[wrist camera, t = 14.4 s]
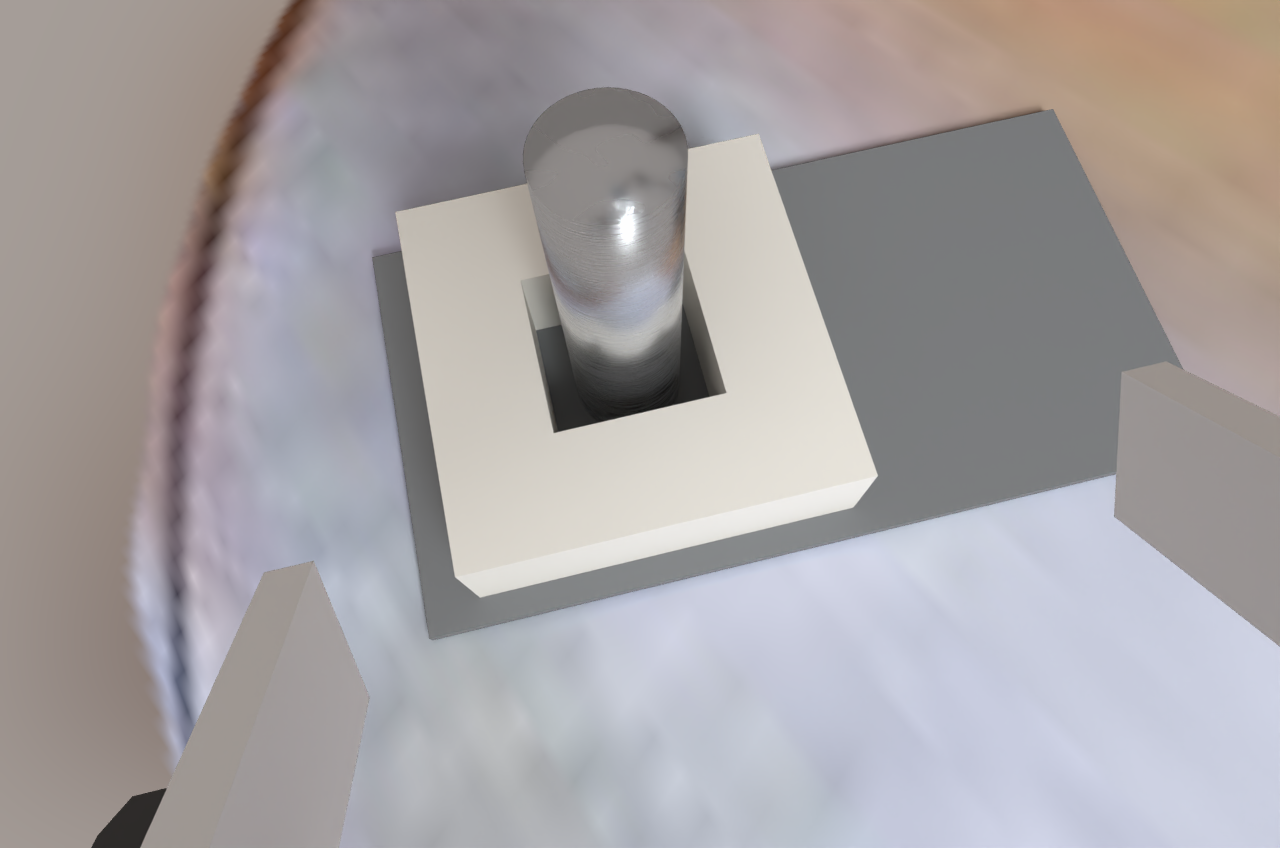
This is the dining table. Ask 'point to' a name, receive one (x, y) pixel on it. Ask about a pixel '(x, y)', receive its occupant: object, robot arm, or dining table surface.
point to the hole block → (641, 443)
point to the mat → (881, 351)
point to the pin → (614, 242)
